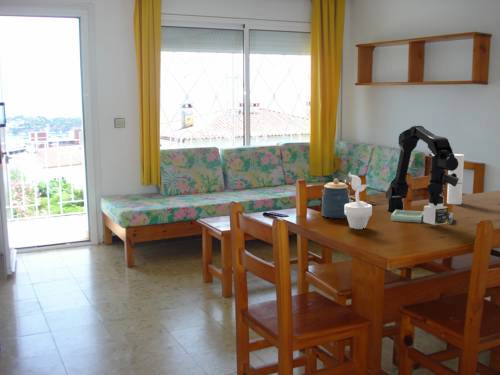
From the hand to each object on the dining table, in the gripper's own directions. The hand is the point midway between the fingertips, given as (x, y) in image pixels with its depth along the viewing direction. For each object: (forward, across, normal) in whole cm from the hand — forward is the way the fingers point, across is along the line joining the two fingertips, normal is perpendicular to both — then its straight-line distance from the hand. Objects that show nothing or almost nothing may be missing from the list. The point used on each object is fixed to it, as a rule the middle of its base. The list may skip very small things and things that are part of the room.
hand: (436, 204), depth 252 cm
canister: (+10, +6, +45) cm, 47 cm away
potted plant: (+10, -14, +30) cm, 35 cm away
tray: (+10, +12, +13) cm, 20 cm away
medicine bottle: (+8, 0, 0) cm, 8 cm away
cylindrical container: (+10, +58, -4) cm, 59 cm away
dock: (+10, +12, 0) cm, 15 cm away
